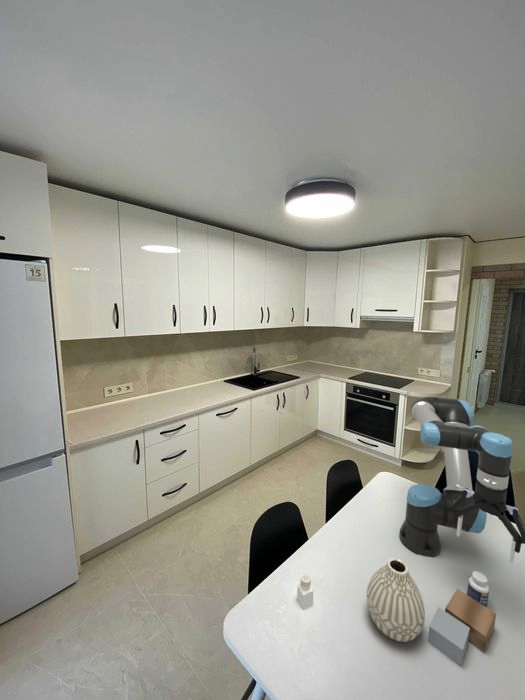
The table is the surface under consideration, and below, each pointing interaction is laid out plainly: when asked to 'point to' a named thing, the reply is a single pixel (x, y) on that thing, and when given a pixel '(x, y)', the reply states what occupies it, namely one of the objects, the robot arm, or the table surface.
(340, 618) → the table surface
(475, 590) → the pill bottle
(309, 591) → the pepper shaker
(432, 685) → the table surface
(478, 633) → the walnut block
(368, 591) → the vase
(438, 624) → the slate block
